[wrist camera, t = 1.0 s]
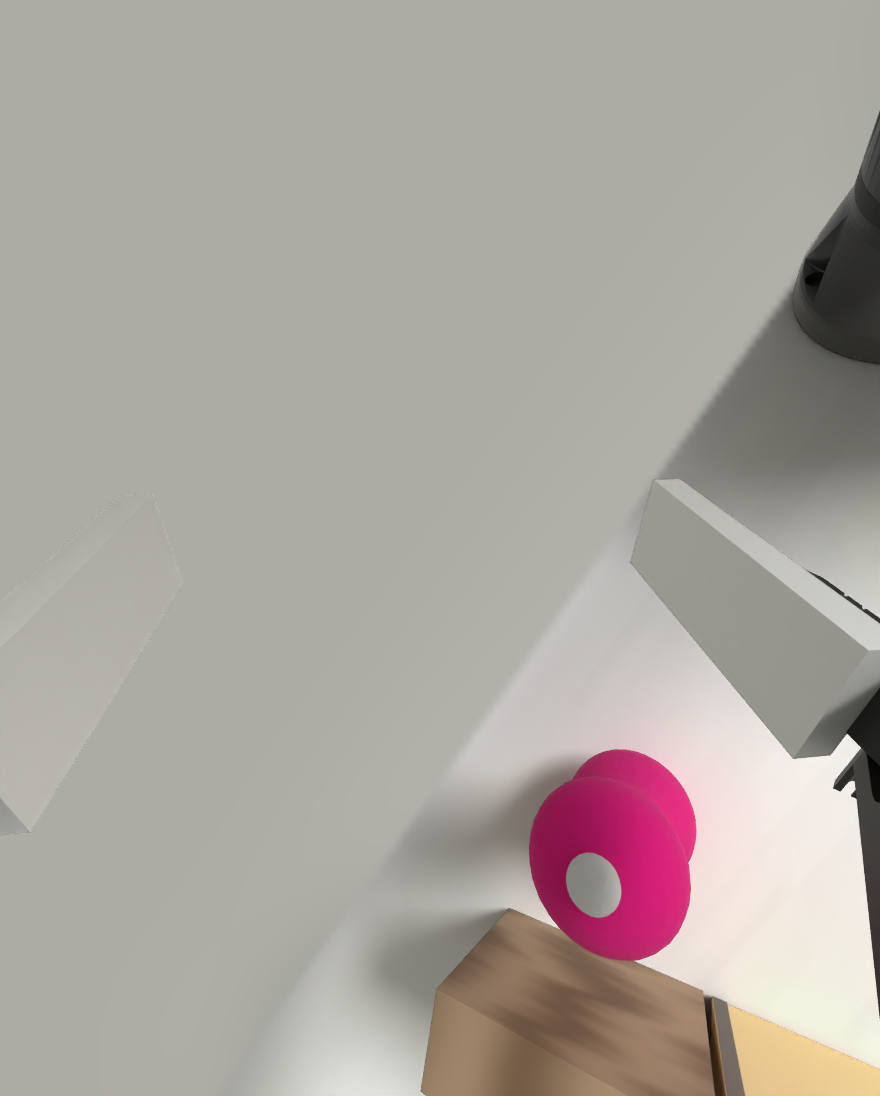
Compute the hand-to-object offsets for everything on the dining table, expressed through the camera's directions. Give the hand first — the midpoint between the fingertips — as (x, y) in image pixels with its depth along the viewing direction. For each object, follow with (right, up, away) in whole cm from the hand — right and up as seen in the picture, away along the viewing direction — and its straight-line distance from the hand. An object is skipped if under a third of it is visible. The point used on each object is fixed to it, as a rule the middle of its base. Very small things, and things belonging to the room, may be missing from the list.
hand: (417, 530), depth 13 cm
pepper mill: (+14, -18, +19) cm, 30 cm away
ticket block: (+11, -28, +17) cm, 35 cm away
